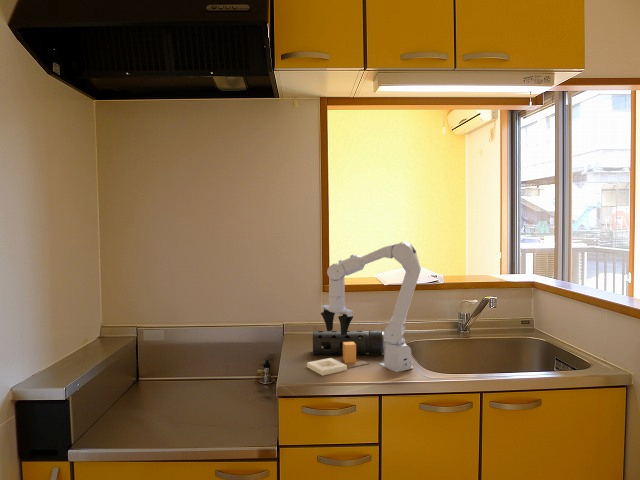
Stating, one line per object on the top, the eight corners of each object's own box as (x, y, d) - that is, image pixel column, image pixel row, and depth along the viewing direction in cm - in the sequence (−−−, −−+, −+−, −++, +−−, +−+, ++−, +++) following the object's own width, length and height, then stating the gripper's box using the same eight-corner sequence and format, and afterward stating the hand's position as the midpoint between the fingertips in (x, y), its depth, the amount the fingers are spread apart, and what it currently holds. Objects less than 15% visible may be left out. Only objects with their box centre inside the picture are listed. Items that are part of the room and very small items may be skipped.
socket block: (346, 371, 156) (346, 365, 156) (322, 376, 151) (322, 370, 151) (331, 363, 165) (331, 357, 164) (307, 368, 159) (307, 362, 159)
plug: (356, 362, 163) (356, 344, 163) (345, 363, 163) (345, 345, 162) (353, 359, 167) (353, 341, 167) (342, 359, 167) (342, 342, 166)
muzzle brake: (313, 326, 180) (312, 334, 170) (384, 326, 179) (387, 333, 169) (314, 350, 181) (312, 359, 171) (384, 349, 180) (387, 358, 170)
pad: (369, 365, 162) (369, 363, 162) (348, 369, 158) (348, 367, 158) (349, 356, 173) (349, 354, 173) (330, 360, 168) (330, 358, 168)
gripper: (358, 297, 163) (358, 334, 164) (331, 292, 174) (331, 327, 175) (344, 299, 159) (344, 338, 159) (317, 294, 170) (317, 330, 170)
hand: (336, 332), depth 167 cm, fingers open, 7 cm apart
